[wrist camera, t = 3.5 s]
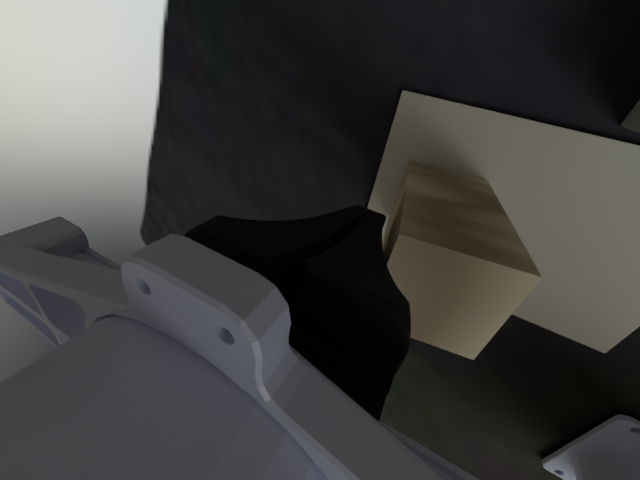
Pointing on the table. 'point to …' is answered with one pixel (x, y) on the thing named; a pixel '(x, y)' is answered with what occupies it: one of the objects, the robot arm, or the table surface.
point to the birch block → (455, 258)
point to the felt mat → (539, 206)
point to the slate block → (633, 119)
